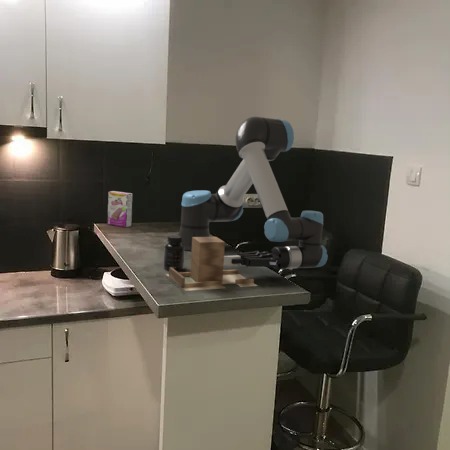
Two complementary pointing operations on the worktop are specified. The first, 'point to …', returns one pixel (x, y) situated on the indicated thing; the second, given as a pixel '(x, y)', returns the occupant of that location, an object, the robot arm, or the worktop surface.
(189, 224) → the robot arm
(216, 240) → the walnut block
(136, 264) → the worktop surface
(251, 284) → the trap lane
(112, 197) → the candy bar box
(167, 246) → the supplement bottle
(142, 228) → the worktop surface
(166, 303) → the worktop surface
